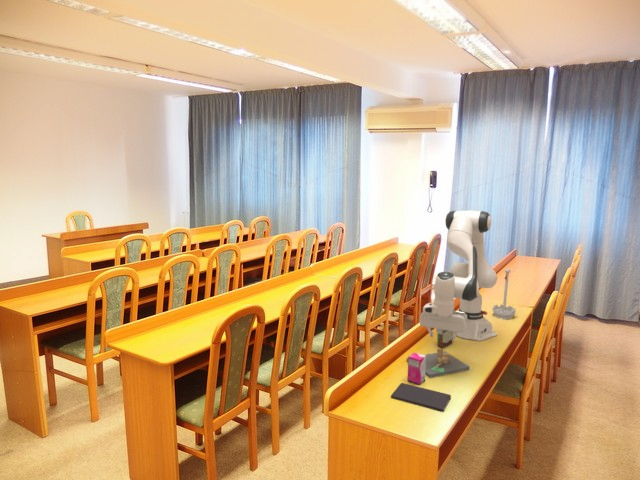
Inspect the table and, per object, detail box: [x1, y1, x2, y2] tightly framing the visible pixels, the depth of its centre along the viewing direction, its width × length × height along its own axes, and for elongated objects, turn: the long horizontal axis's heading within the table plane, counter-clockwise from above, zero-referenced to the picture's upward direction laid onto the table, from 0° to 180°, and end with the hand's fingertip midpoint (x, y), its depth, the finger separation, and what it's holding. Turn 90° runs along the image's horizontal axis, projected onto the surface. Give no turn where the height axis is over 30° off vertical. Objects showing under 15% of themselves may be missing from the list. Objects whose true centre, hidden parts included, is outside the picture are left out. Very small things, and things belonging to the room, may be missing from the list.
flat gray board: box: [406, 350, 471, 379], centre depth 222 cm, size 22×19×2 cm
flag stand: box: [492, 267, 517, 320], centre depth 288 cm, size 13×13×30 cm
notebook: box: [390, 382, 452, 413], centre depth 194 cm, size 13×2×21 cm
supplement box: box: [407, 352, 426, 386], centre depth 207 cm, size 6×6×12 cm
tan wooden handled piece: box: [436, 348, 451, 368], centre depth 219 cm, size 14×6×8 cm, turn 151°
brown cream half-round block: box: [435, 328, 454, 350], centre depth 246 cm, size 12×6×10 cm, turn 134°
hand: (441, 338), depth 215 cm, fingers open, 8 cm apart
